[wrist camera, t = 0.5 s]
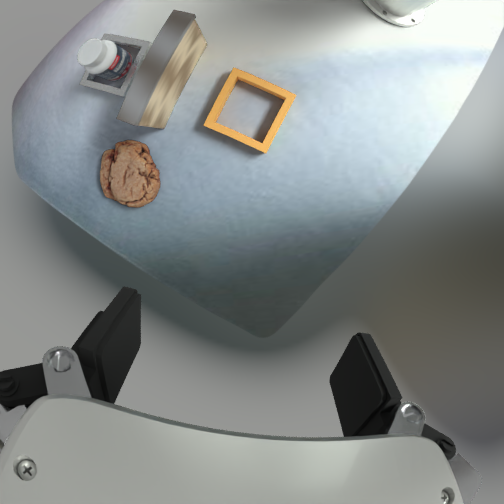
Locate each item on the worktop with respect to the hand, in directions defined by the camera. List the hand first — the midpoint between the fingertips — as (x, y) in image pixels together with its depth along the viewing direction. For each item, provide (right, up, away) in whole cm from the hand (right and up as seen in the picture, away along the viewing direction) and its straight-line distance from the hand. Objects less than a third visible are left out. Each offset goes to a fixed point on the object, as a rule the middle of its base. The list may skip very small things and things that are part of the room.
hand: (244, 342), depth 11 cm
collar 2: (0, +23, +23) cm, 32 cm away
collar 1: (-20, +32, +19) cm, 42 cm away
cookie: (-18, +15, +26) cm, 35 cm away
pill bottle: (-20, +32, +19) cm, 42 cm away
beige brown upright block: (-10, +27, +21) cm, 36 cm away
